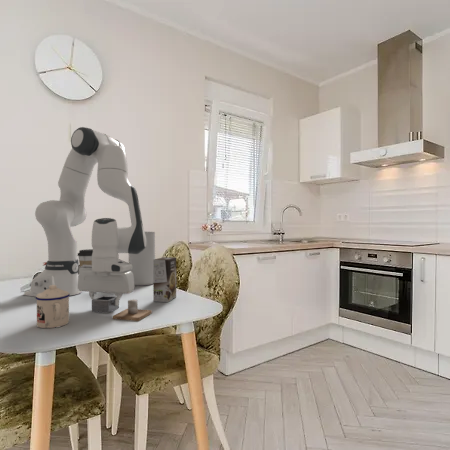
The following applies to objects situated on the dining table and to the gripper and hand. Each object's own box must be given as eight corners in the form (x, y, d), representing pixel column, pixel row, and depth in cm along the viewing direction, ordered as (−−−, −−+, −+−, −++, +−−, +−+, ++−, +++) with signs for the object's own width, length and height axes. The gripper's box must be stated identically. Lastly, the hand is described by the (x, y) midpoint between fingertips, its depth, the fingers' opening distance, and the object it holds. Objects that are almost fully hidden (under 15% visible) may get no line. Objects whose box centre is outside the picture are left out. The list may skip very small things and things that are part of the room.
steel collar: (91, 311, 117) (91, 299, 117) (102, 306, 123) (102, 295, 123) (108, 312, 116) (108, 300, 115) (118, 307, 122) (118, 296, 122)
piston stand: (112, 319, 108) (112, 303, 108) (127, 311, 117) (127, 296, 117) (139, 320, 106) (138, 304, 106) (151, 313, 115) (151, 298, 115)
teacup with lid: (33, 323, 104) (33, 284, 104) (65, 318, 110) (65, 281, 109) (40, 333, 95) (40, 291, 94) (75, 327, 100) (75, 287, 100)
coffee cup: (73, 280, 178) (72, 251, 177) (85, 276, 189) (85, 249, 188) (93, 280, 176) (93, 251, 175) (104, 276, 187) (104, 249, 187)
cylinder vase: (133, 281, 174) (132, 231, 173) (157, 281, 174) (157, 231, 173) (125, 286, 161) (124, 232, 161) (151, 286, 161) (151, 232, 161)
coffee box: (168, 302, 130) (168, 259, 129) (152, 301, 131) (152, 259, 131) (177, 297, 139) (176, 257, 138) (161, 296, 140) (161, 256, 140)
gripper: (73, 265, 119) (73, 305, 119) (127, 267, 114) (127, 308, 114) (84, 263, 125) (85, 301, 125) (136, 264, 120) (136, 304, 120)
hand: (105, 305), depth 119 cm, fingers closed on steel collar, 6 cm apart
